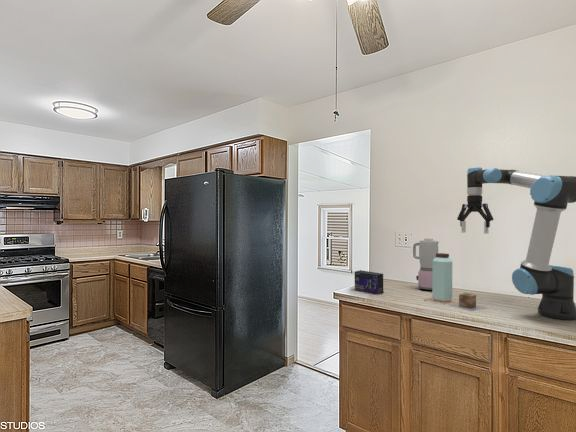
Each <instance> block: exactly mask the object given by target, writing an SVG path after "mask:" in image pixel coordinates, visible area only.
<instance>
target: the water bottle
mask: <svg viewBox="0 0 576 432" xmlns="http://www.w3.org/2000/svg"><path fill="white" fill-rule="evenodd" d="M431 291H432V295H431V296H432V297H431V298H433V299H434V300H436V301H440V302H450V301H451V299H452V300H453V260H452V259H451V258H450V253H443V252H441V253H439V252H438V253H436V257H435V258H434V259H433V281H432V290H431Z"/></svg>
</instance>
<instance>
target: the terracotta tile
mask: <svg viewBox="0 0 576 432" xmlns="http://www.w3.org/2000/svg"><path fill="white" fill-rule="evenodd" d="M423 301H424V302H426V301H430V302H433V303H438V304H440V305H450V304H456V303H459V300H455V299H453V298H452V299H451V301H450V302H440V301H436V300H434V299H433V298H432V297H430V298H429V297H428V298H424V299H423Z"/></svg>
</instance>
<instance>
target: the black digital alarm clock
mask: <svg viewBox="0 0 576 432" xmlns="http://www.w3.org/2000/svg"><path fill="white" fill-rule="evenodd" d="M354 290H355V291H357V290H358V291H359V292H362V291H363V292H364V293H367V292H368V293H367V294H372V295H377V296H378V295H382V294H384V273H380V272H374V271H370V270H369V271H368V270H361V269H360V270H356V271H354ZM358 291H357V292H358Z"/></svg>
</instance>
